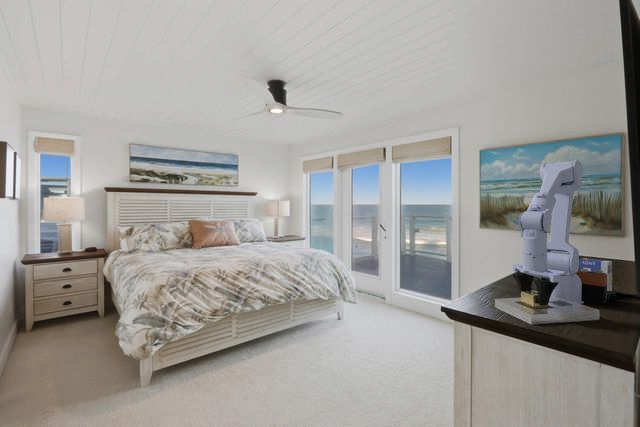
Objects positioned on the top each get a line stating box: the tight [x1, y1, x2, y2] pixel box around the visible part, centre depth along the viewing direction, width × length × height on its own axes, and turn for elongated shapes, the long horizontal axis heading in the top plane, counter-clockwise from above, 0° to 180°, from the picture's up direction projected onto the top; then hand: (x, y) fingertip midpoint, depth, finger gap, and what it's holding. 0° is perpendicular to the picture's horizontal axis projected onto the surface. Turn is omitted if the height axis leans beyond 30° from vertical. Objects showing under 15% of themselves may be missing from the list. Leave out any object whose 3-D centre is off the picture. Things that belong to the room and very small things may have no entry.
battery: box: [576, 269, 608, 305], centre depth 101 cm, size 4×7×10 cm, turn 39°
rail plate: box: [494, 295, 600, 325], centre depth 91 cm, size 20×14×3 cm
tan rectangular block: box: [520, 289, 548, 310], centre depth 90 cm, size 4×4×6 cm
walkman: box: [579, 257, 613, 291], centre depth 107 cm, size 8×3×12 cm, turn 28°
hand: (534, 301), depth 90 cm, fingers open, 6 cm apart
